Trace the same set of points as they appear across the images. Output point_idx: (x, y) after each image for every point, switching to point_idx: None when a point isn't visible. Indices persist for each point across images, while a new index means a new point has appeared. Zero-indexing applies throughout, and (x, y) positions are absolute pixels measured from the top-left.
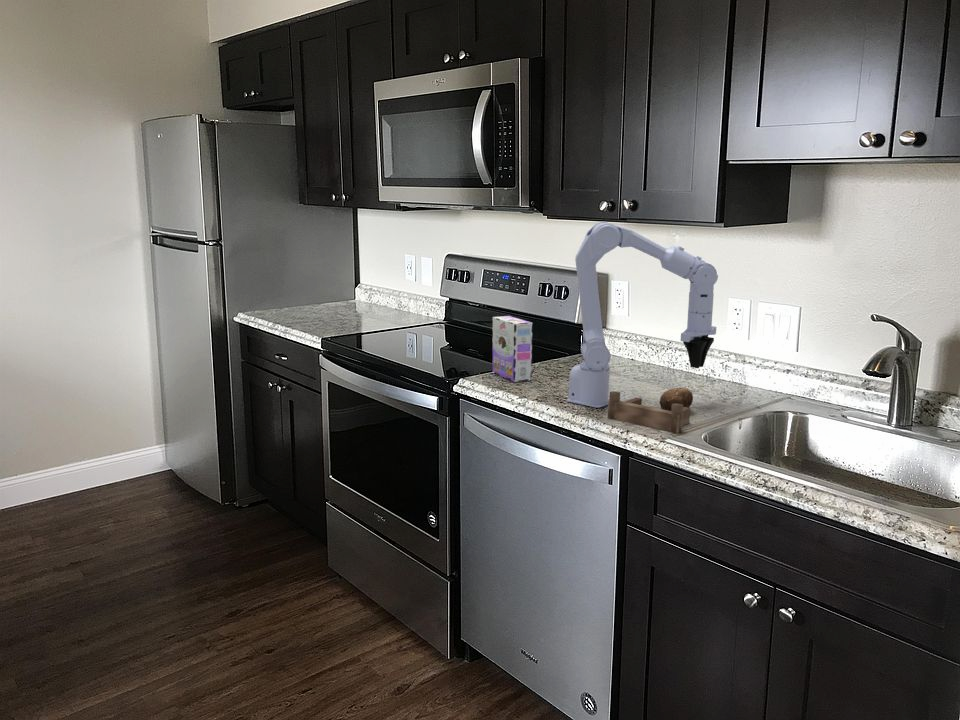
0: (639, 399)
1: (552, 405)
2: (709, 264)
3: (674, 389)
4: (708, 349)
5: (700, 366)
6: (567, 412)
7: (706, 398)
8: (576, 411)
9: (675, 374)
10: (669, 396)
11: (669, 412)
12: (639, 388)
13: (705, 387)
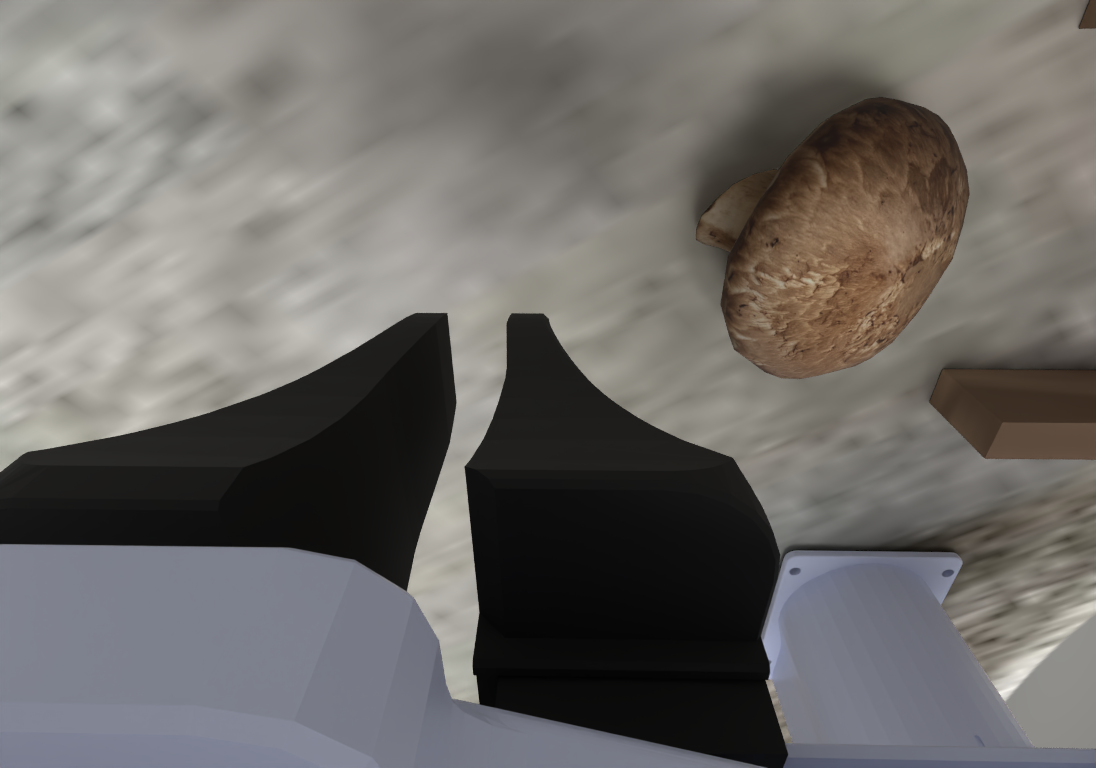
0: (1035, 422)
1: None
2: None
3: (877, 304)
4: (269, 399)
5: (447, 331)
6: (1087, 601)
7: (302, 237)
8: (1051, 586)
9: None
10: (930, 287)
11: None
12: (431, 591)
13: (68, 377)
